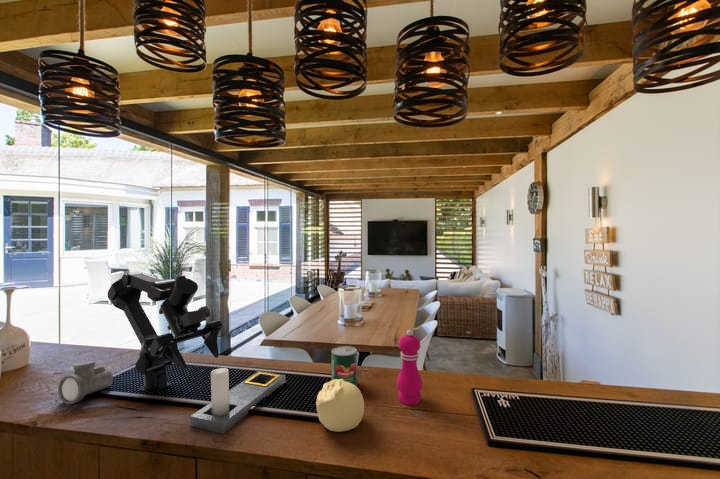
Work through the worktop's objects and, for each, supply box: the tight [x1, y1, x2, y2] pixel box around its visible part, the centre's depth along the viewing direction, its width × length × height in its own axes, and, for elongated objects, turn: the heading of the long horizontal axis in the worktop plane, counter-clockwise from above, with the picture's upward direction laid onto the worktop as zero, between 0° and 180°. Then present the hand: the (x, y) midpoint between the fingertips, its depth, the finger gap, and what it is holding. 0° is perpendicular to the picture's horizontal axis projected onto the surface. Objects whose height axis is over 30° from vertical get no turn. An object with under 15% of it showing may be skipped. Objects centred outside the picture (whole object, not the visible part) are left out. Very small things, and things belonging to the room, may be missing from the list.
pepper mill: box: [396, 329, 423, 406], centre depth 98 cm, size 7×7×20 cm
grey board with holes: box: [189, 370, 287, 434], centre depth 98 cm, size 28×10×3 cm, turn 161°
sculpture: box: [315, 379, 365, 433], centre depth 87 cm, size 11×12×11 cm
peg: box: [210, 367, 230, 418], centre depth 89 cm, size 4×4×12 cm
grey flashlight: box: [57, 360, 114, 405], centre depth 103 cm, size 12×8×10 cm
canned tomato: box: [331, 345, 358, 387], centre depth 108 cm, size 8×8×11 cm
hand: (202, 362), depth 93 cm, fingers open, 9 cm apart
